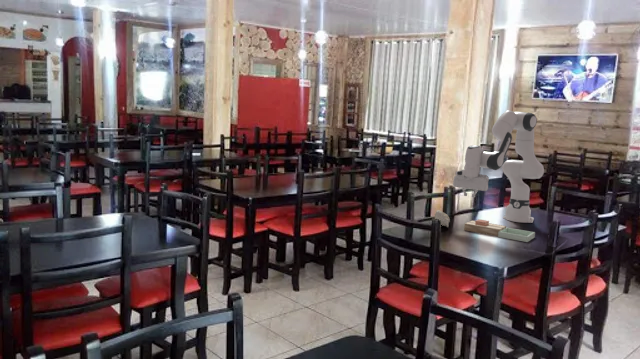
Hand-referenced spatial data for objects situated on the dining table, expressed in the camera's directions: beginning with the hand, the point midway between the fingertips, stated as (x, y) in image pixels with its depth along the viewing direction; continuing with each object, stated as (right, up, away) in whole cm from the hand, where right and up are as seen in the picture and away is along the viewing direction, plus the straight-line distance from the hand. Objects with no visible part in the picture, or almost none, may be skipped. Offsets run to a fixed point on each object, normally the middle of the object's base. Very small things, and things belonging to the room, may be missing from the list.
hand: (469, 196), depth 321 cm
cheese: (-21, -20, -4) cm, 29 cm away
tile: (+7, -16, -3) cm, 18 cm away
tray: (+23, -22, -14) cm, 35 cm away
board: (+8, -20, -4) cm, 22 cm away
